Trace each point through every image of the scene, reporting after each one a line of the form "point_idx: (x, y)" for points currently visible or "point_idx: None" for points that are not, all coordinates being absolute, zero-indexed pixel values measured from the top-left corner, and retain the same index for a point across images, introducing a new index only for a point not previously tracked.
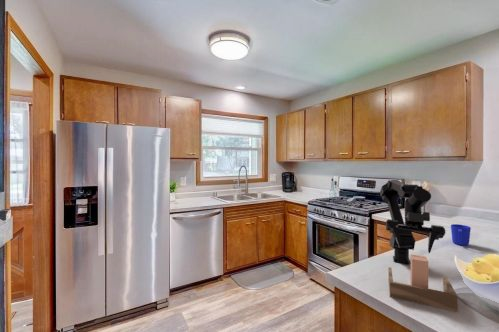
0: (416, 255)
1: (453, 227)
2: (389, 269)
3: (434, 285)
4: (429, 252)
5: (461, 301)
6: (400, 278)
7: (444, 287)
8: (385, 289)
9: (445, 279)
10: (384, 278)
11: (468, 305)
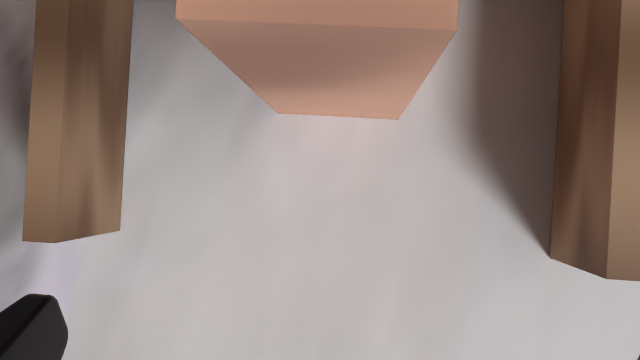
0: (348, 9)
1: None
2: (636, 208)
3: (168, 312)
4: (49, 297)
5: None
6: (454, 345)
7: (100, 184)
8: None
9: (52, 174)
10: None
11: (3, 36)
